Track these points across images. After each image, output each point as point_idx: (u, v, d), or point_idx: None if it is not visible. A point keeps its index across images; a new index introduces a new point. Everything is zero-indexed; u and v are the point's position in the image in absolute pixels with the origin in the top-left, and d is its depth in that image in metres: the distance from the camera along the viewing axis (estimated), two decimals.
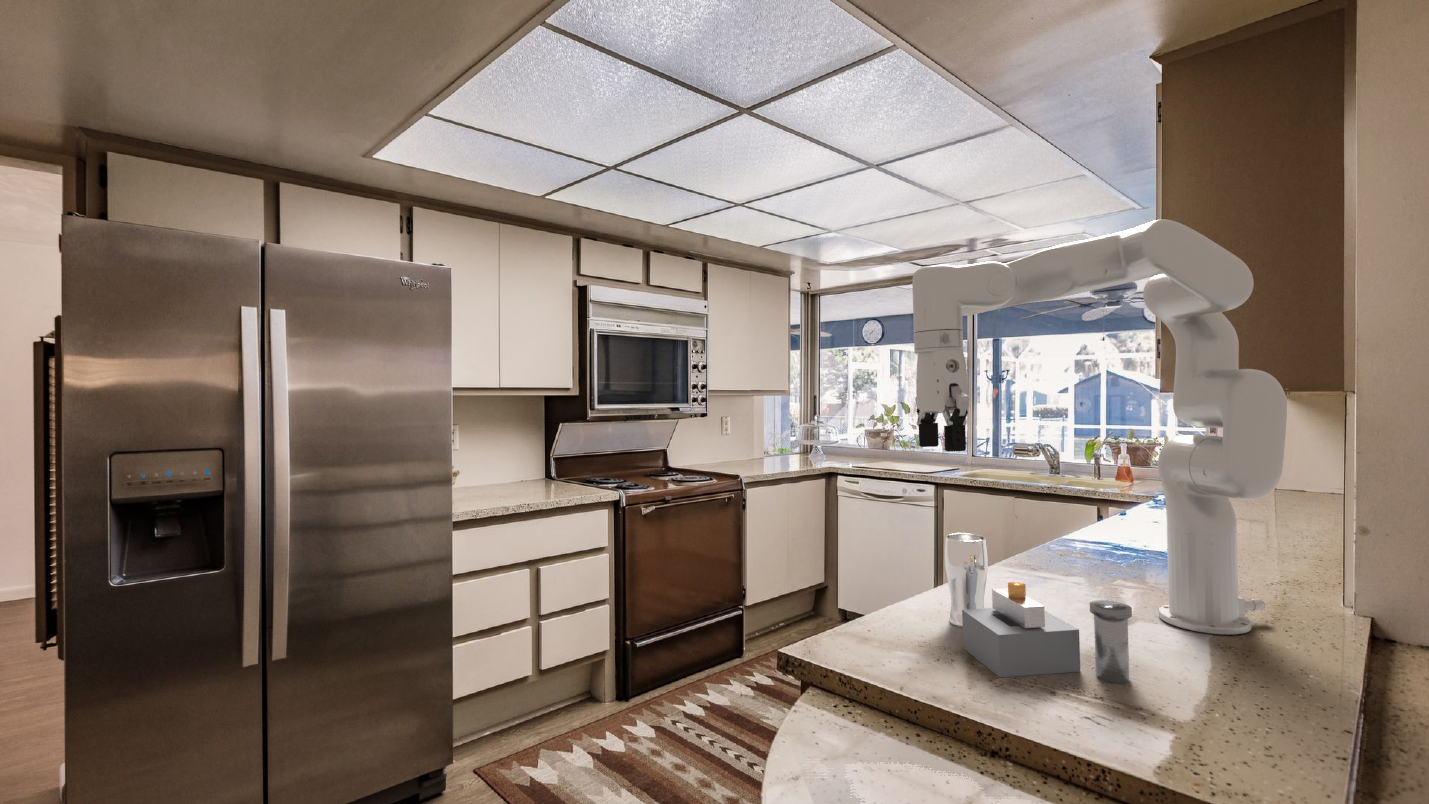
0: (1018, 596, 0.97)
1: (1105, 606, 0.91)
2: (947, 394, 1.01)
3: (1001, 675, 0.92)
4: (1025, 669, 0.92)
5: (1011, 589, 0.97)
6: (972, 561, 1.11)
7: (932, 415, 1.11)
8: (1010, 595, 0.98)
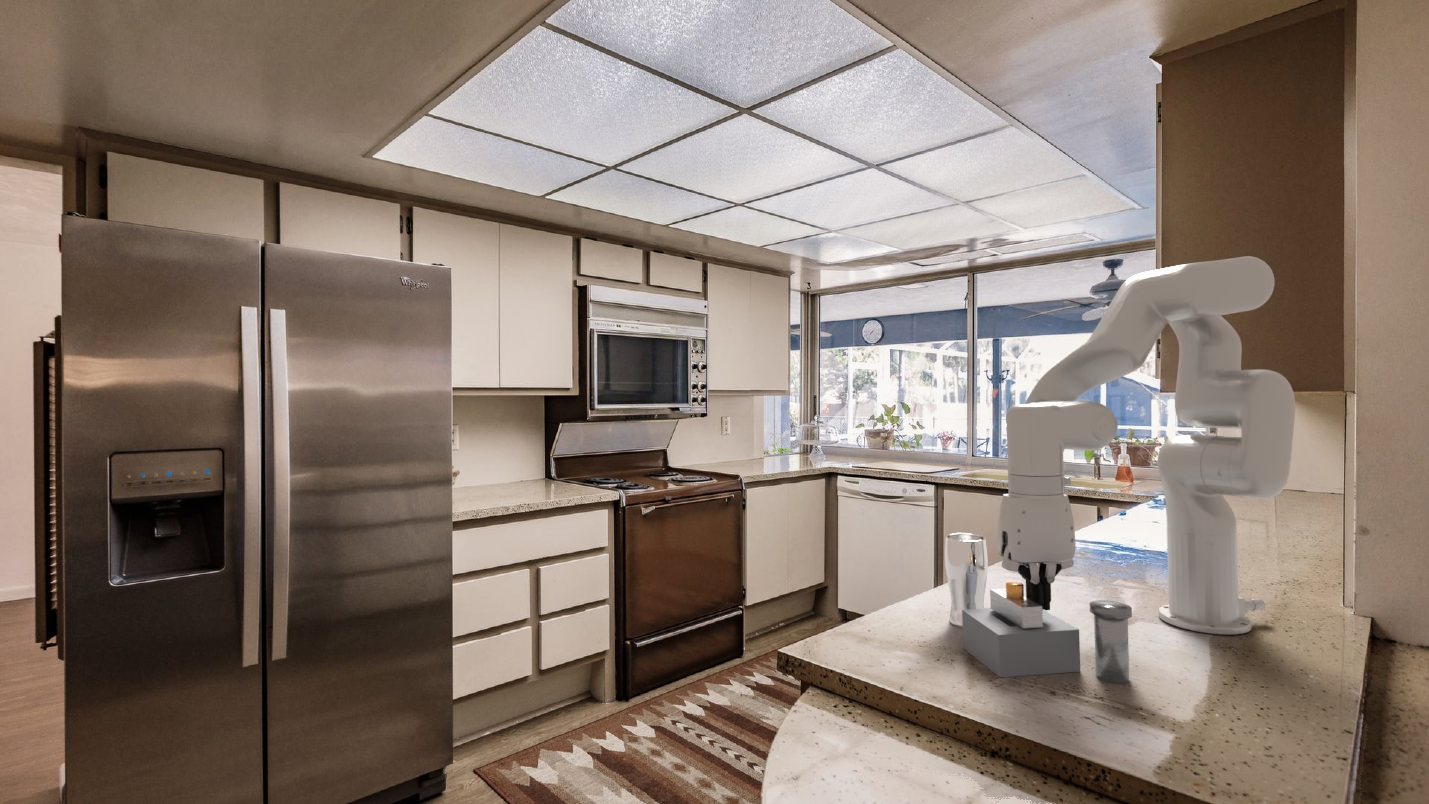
0: (1016, 596, 0.97)
1: (1105, 606, 0.91)
2: None
3: (1001, 675, 0.92)
4: (1025, 669, 0.92)
5: (1009, 589, 0.97)
6: (972, 561, 1.11)
7: None
8: (1008, 595, 0.98)
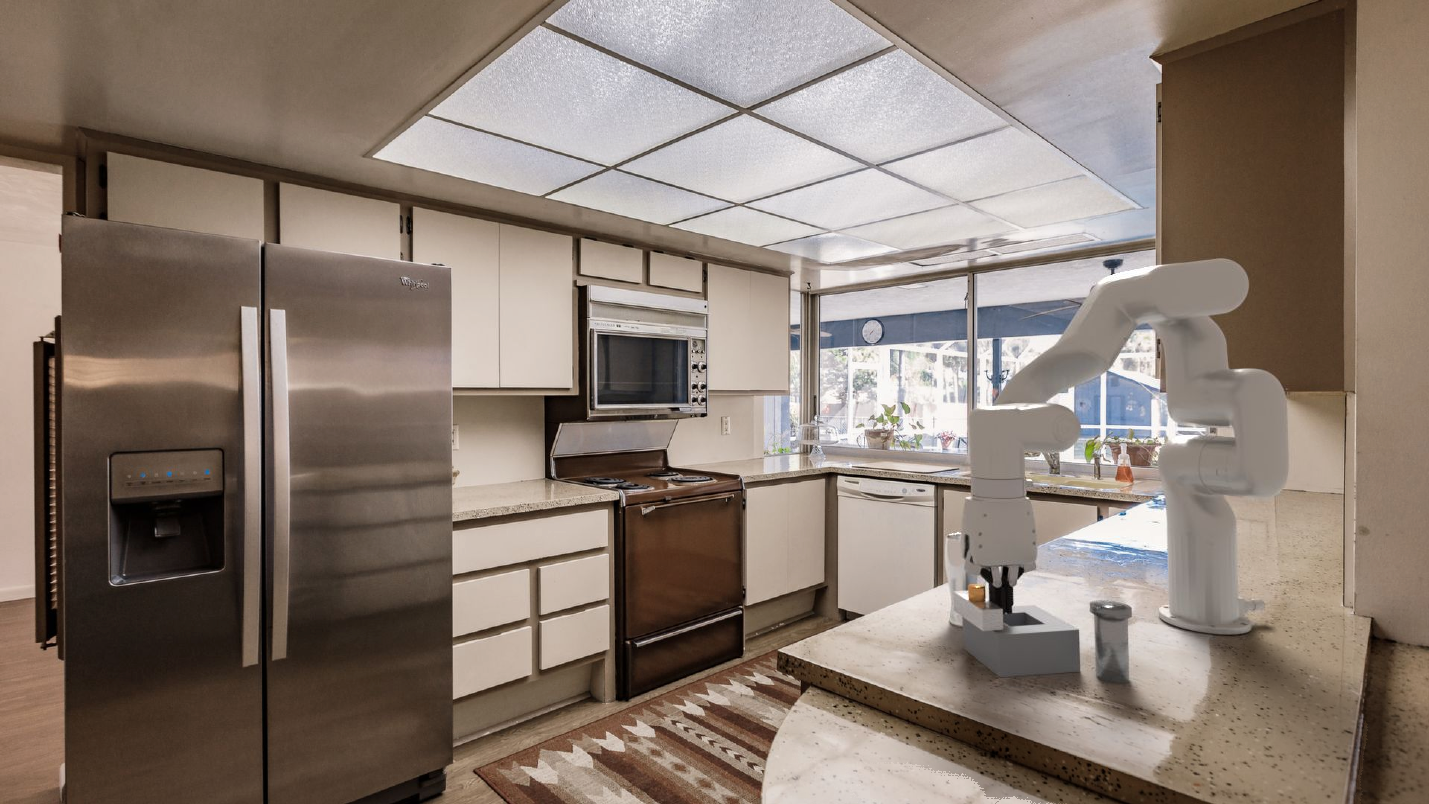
0: (978, 599, 0.96)
1: (1105, 606, 0.91)
2: None
3: (1001, 675, 0.92)
4: (1025, 669, 0.92)
5: (971, 592, 0.97)
6: None
7: None
8: (970, 598, 0.97)
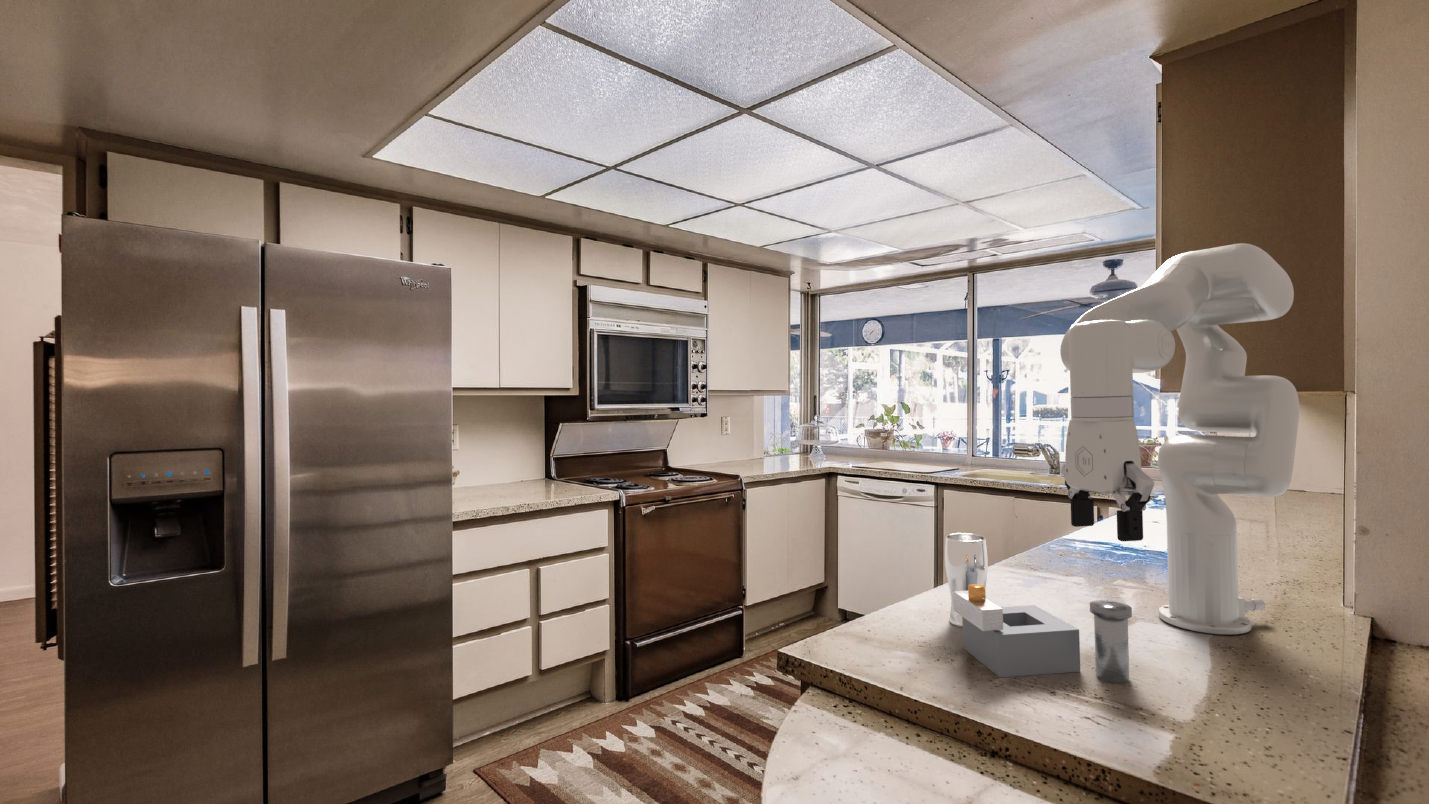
0: (978, 599, 0.96)
1: (1105, 606, 0.91)
2: None
3: (1001, 675, 0.92)
4: (1025, 669, 0.92)
5: (971, 592, 0.97)
6: (972, 561, 1.11)
7: None
8: (970, 598, 0.97)
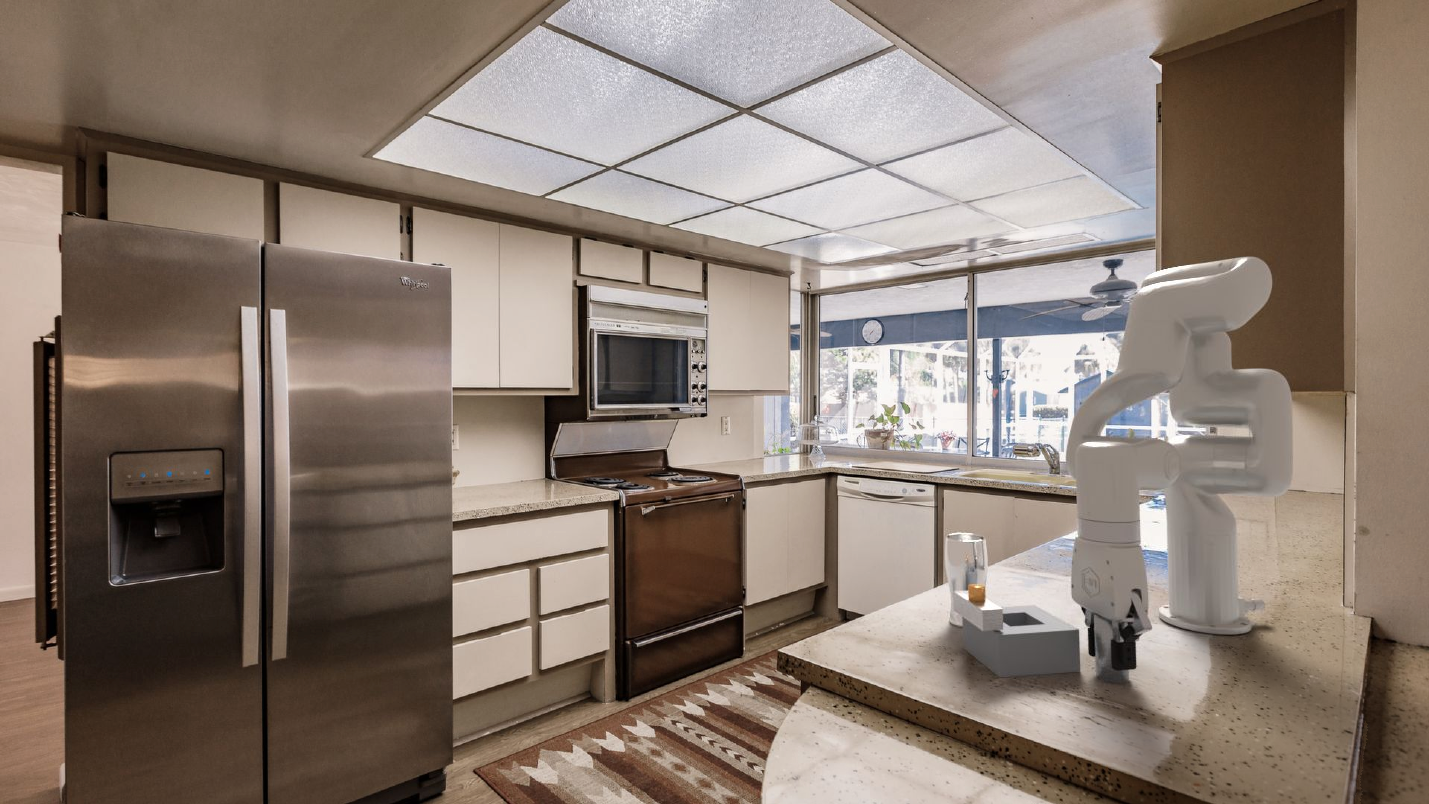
0: (978, 599, 0.96)
1: None
2: None
3: (1001, 675, 0.92)
4: (1025, 669, 0.92)
5: (971, 592, 0.97)
6: (972, 561, 1.11)
7: None
8: (970, 598, 0.97)
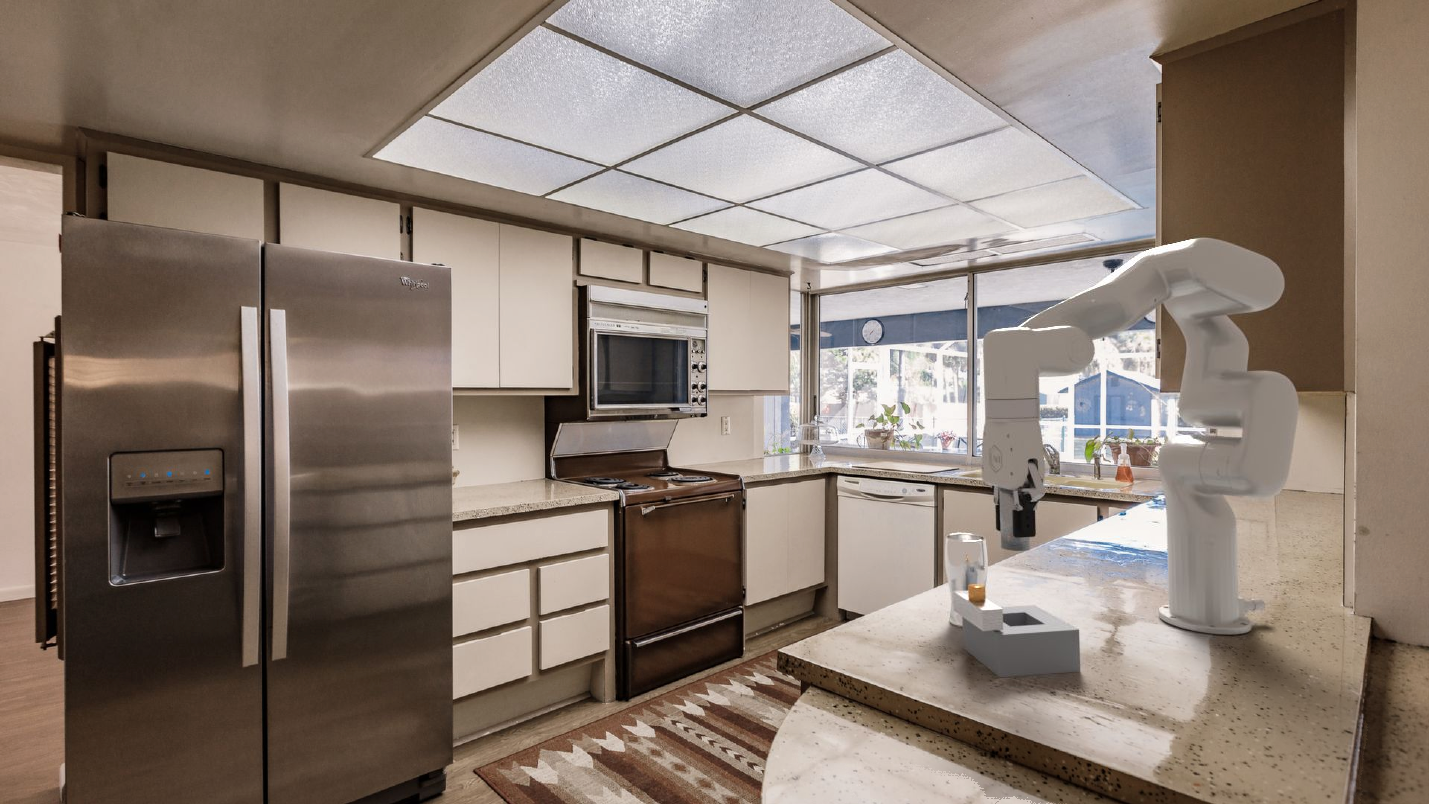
0: (978, 599, 0.96)
1: None
2: None
3: (1001, 675, 0.92)
4: (1025, 669, 0.92)
5: (971, 592, 0.97)
6: (972, 561, 1.11)
7: None
8: (970, 598, 0.97)
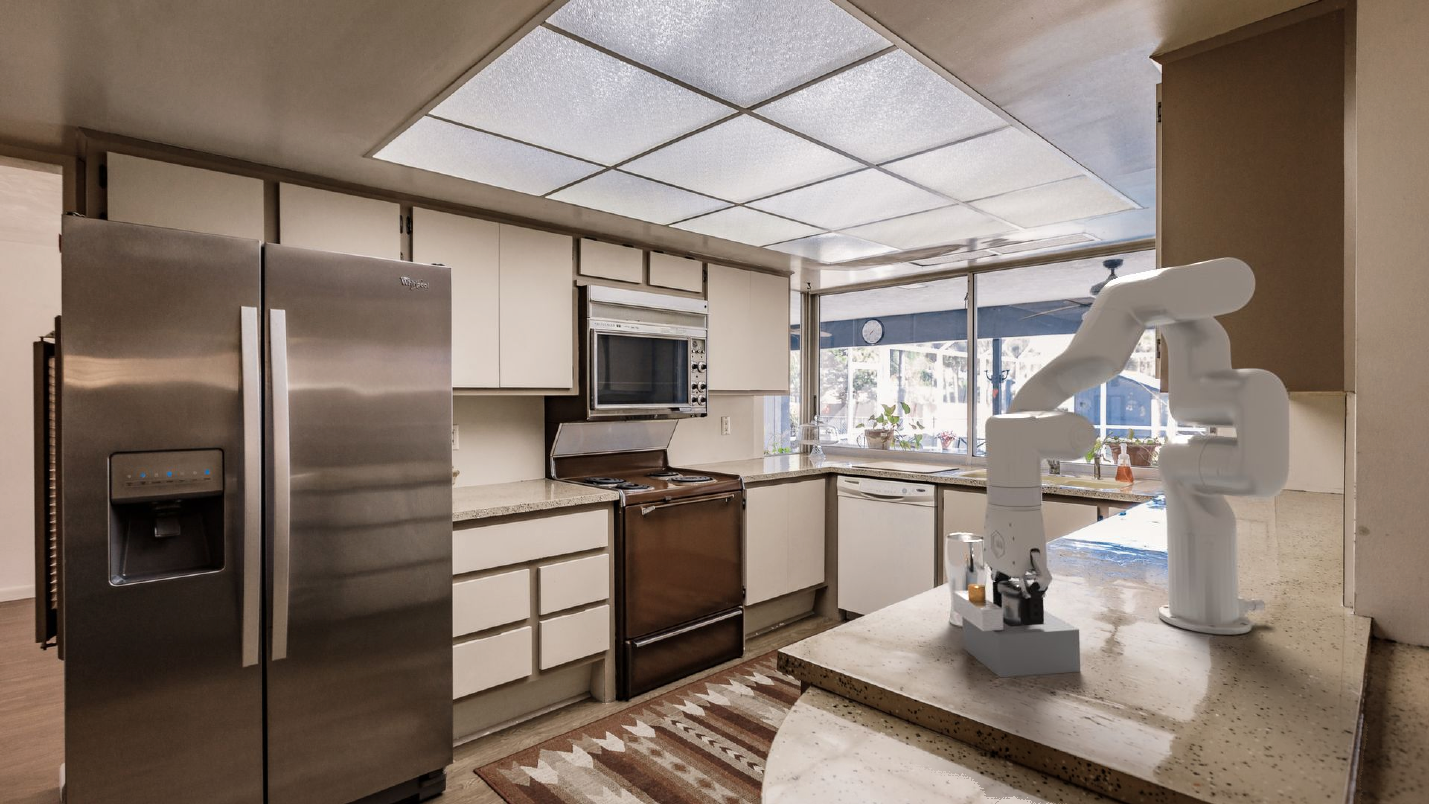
0: (978, 599, 0.96)
1: (1010, 585, 0.98)
2: None
3: (1001, 675, 0.92)
4: (1025, 669, 0.92)
5: (971, 592, 0.97)
6: (972, 561, 1.11)
7: None
8: (970, 598, 0.97)
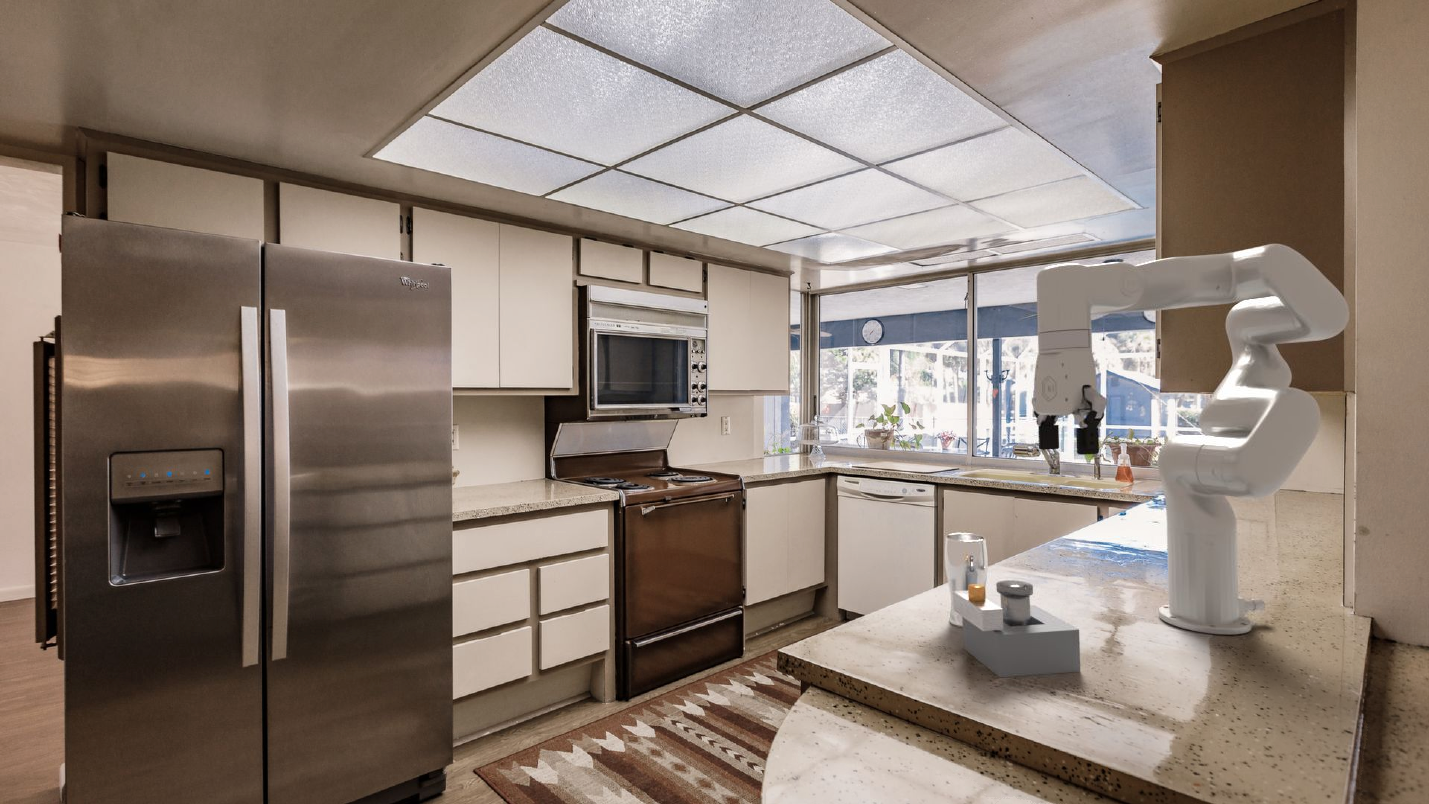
0: (978, 599, 0.96)
1: (1009, 585, 0.98)
2: None
3: (1001, 675, 0.92)
4: (1025, 669, 0.92)
5: (971, 592, 0.97)
6: (972, 561, 1.11)
7: None
8: (970, 598, 0.97)
